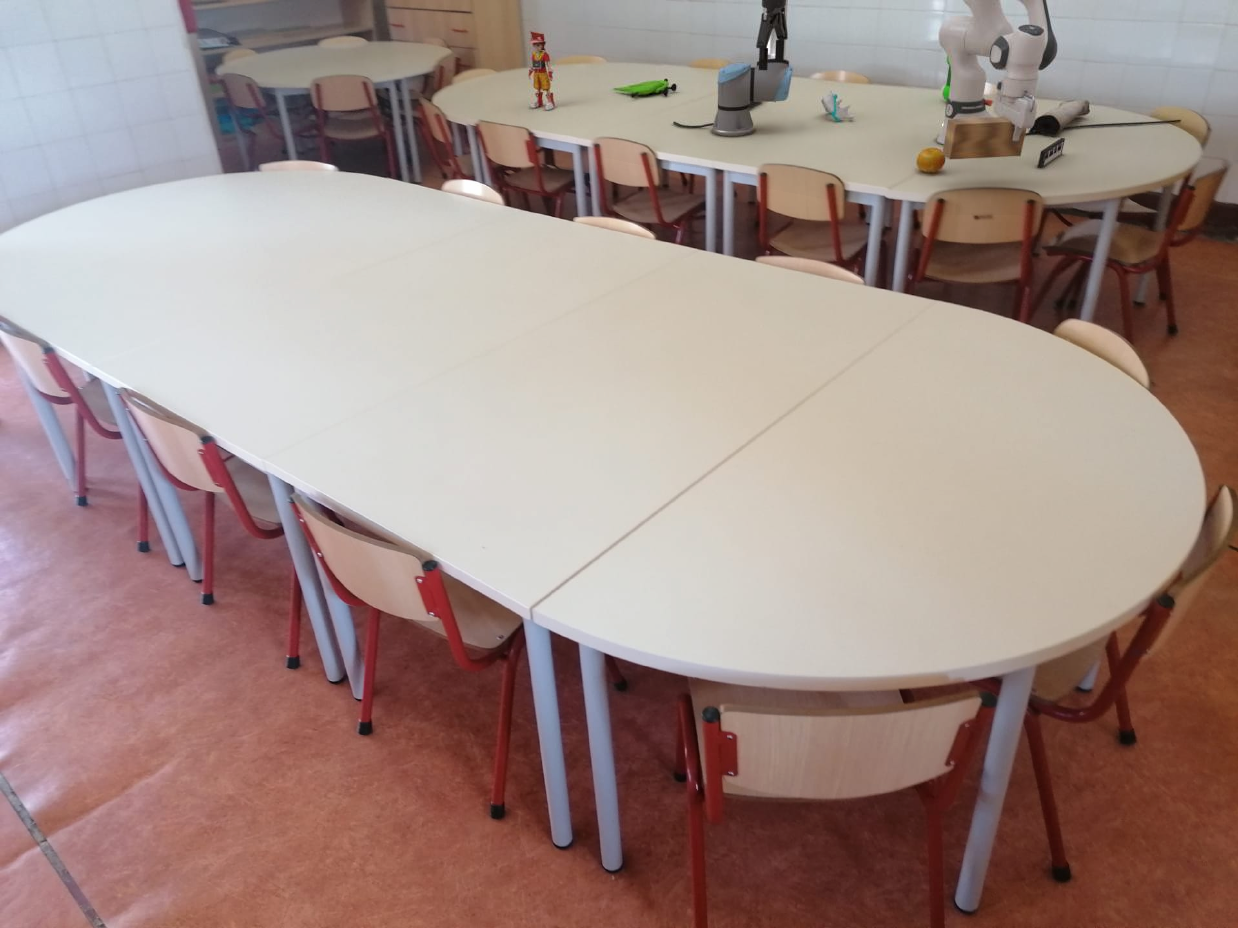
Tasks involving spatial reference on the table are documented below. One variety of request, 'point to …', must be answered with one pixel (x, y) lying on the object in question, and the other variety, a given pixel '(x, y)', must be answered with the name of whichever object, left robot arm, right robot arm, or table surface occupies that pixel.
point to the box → (981, 138)
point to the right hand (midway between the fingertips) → (1009, 137)
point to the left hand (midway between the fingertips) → (771, 66)
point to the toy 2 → (648, 88)
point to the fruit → (930, 160)
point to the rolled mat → (1060, 117)
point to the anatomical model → (835, 107)
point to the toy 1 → (541, 71)
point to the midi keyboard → (1051, 152)
